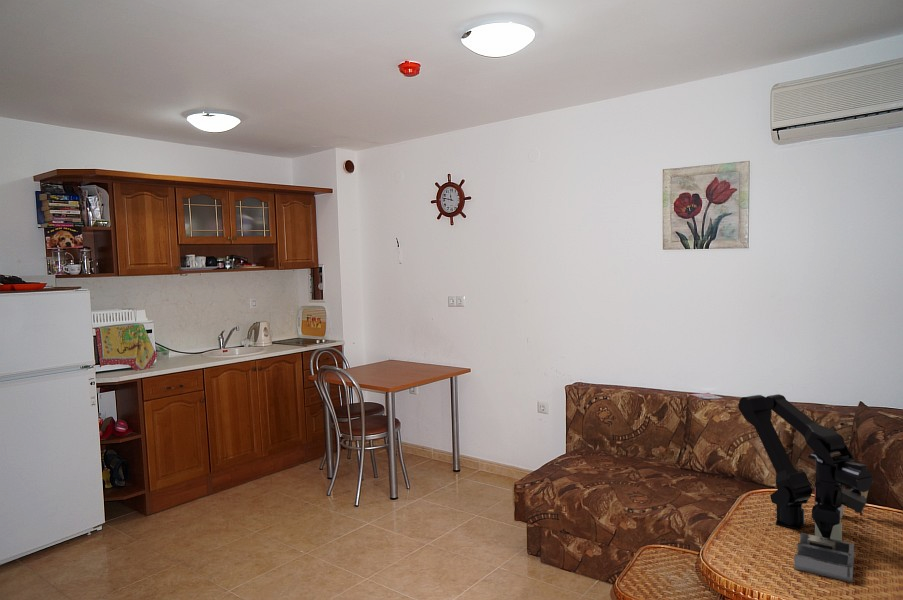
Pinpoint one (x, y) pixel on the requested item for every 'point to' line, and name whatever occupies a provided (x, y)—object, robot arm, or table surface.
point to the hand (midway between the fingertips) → (828, 534)
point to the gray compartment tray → (825, 557)
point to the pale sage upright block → (835, 533)
